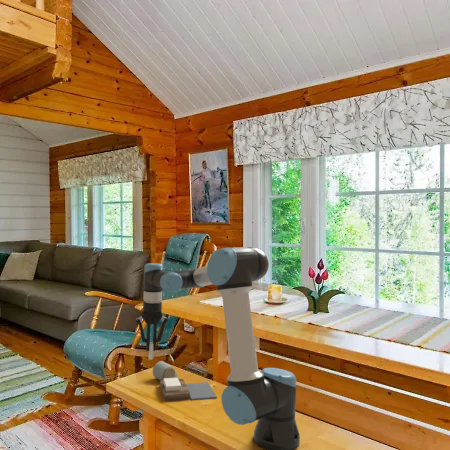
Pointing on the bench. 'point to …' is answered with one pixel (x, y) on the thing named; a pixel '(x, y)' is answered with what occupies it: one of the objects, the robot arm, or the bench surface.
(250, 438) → the bench surface
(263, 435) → the robot arm
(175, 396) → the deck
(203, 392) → the mat
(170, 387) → the white rectangular block
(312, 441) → the bench surface
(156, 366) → the ceramic mug
